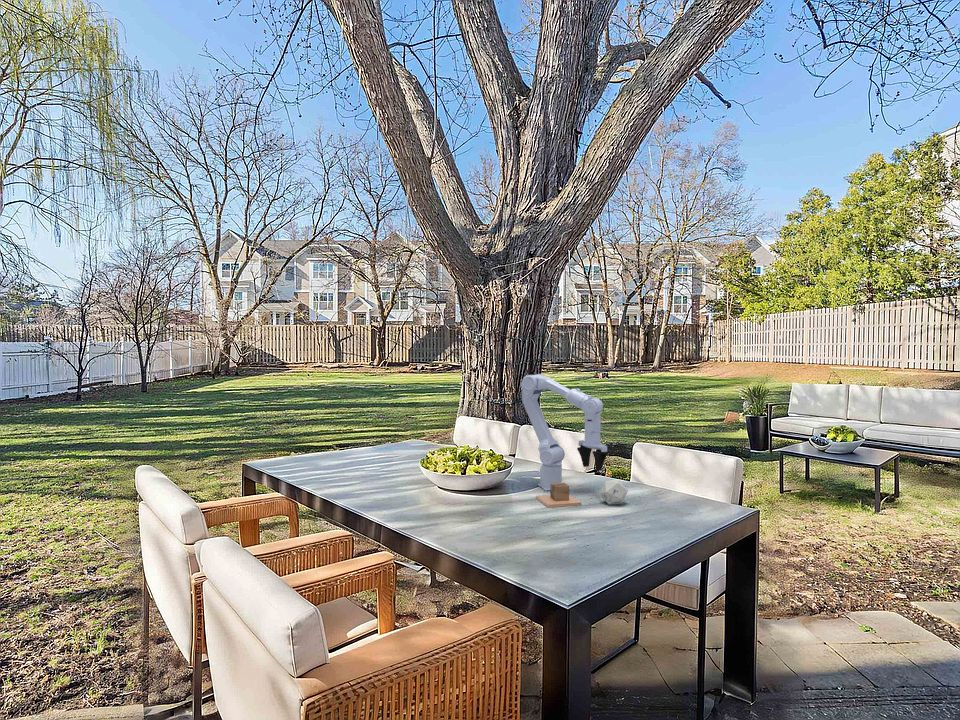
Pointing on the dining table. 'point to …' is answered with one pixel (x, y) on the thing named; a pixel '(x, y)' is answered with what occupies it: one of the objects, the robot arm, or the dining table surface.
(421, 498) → the dining table surface
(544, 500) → the tile
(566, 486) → the cube
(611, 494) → the die
